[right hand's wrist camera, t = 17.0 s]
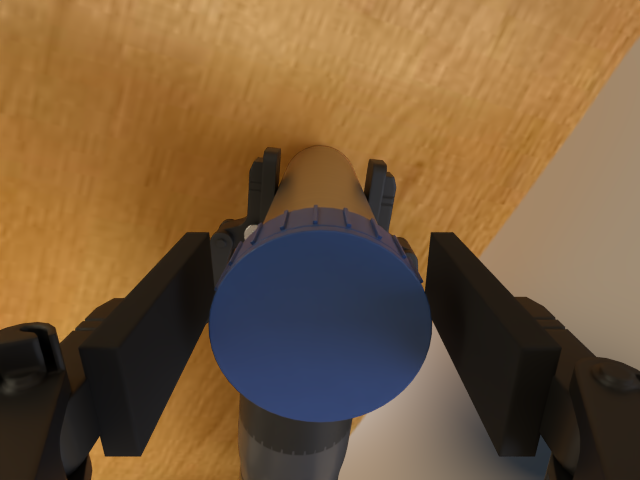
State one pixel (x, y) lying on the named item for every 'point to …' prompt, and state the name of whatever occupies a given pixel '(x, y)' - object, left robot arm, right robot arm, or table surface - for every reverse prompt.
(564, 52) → the table surface
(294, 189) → the jar
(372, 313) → the lid
